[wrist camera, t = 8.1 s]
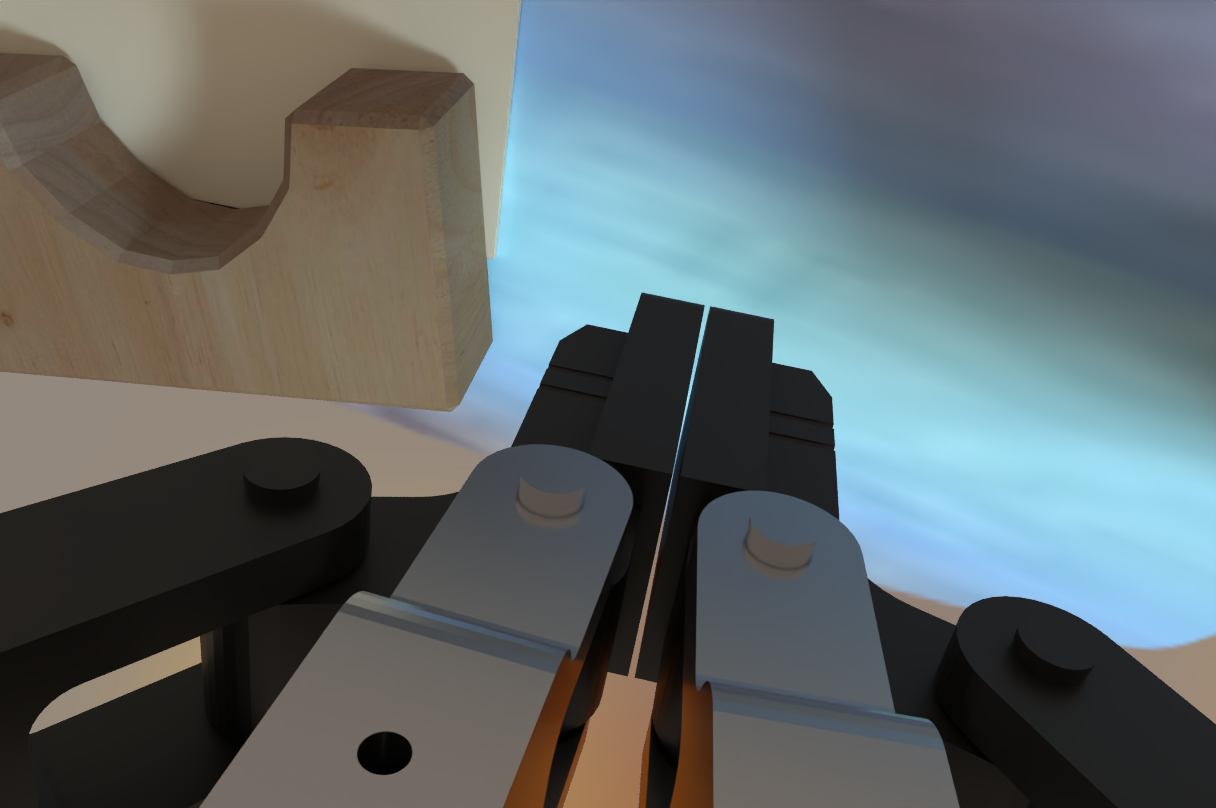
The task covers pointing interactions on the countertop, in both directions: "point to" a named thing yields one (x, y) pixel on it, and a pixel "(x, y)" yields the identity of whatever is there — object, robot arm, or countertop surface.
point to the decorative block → (250, 248)
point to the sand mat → (262, 75)
